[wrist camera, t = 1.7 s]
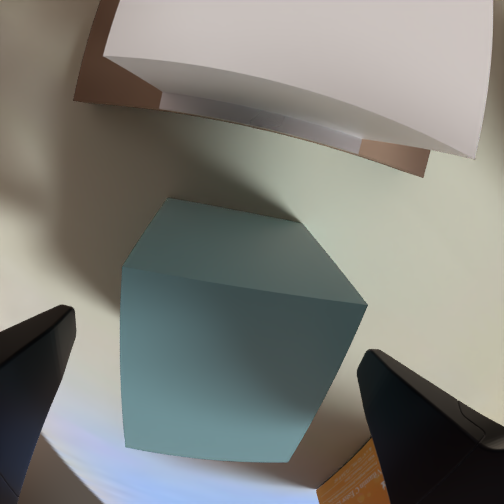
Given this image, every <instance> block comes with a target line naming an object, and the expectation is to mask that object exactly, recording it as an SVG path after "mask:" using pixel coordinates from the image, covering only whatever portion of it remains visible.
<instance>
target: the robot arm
mask: <svg viewBox="0 0 504 504" xmlns="http://www.w3.org/2000/svg"><path fill="white" fill-rule="evenodd" d="M75 337H76V320H75V310H74V308H73V307H71V306H67V305H59V306H56V307H54V308H52V309H50V310H47V311H45V312H43V313H41V314H38V315H36V316H34V317H32V318H30V319H27V320H25V321H23V322H21V323H19V324H16V325H14V326H12V327H10V328H8V329H6V330H3V331H1V332H0V504H17V503H18V497H19V495H20V492H21V488H22V485H23V482H24V478H25V475H26V472H27V469H28V466H29V463H30V460H31V457H32V454H33V451H34V448H35V446H36V443H37V440H38V438H39V435H40V432H41V430H42V427H43V424H44V422H45V419H46V417H47V414H48V412H49V409H50V407H51V404H52V402H53V400H54V397H55V395H56V392H57V390H58V388H59V385H60V383H61V380H62V378H63V375H64V372H65V368H66V365H67V362H68V359H69V356H70V353H71V350H72V347H73V344H74V341H75ZM357 378H358V383H359V388H360V393H361V398H362V403H363V408H364V412H365V416H366V420H367V423H368V426H369V429H370V433H371V436H372V439H373V443H374V446H375V450H376V453H377V457H378V460H379V464H380V467H381V471H382V474H383V478H384V481H385V485H386V489H387V493H388V496H389V500H390V504H504V426H502V425H500V424H498V423H496V422H494V421H493V420H491V419H489V418H487V417H485V416H483V415H482V414H480V413H478V412H476V411H475V410H473V409H472V408H470V407H468V406H467V405H465V404H463V403H462V402H460V401H457V399H456V398H454V397H452V396H451V395H449V394H448V393H446V392H445V391H443V390H442V389H440V388H438V387H437V386H435V385H434V384H432V383H431V382H429V381H427V380H426V379H424V378H423V377H421V376H420V375H418V374H417V373H415V372H414V371H412V370H410V369H409V368H407V367H406V366H404V365H403V364H401V363H400V362H398V361H397V360H395V359H393V358H392V357H390V356H389V355H387V354H386V353H384V352H383V351H381V350H379V349H369V350H367V351H366V353H365V355H364V357H363V359H362V361H361V363H360V365H359V367H358V369H357Z"/></svg>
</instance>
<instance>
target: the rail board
mask: <svg viewBox="0 0 504 504" xmlns="http://www.w3.org/2000/svg"><path fill="white" fill-rule="evenodd" d="M119 2H120V0H101V1H100V4H99V7H98V9H97V12H96V15H95V18H94V21H93V25H92V28H91V31H90V34H89V38H88V41H87V45H86V48H85V52H84V56H83V60H82V64H81V68H80V72H79V76H78V80H77V85H76V90H75V94H74V99H73V101H78V102H85V103H94V104H106V105H116V106H126V107H135V108H143V109H151V110H159V111H166V112H173V113H179V114H185V115H191V116H197V117H203V118H208V119H214V120H219V121H224V122H229V123H234V124H239V125H244V126H248V127H253V128H257V129H262V130H266V131H270V132H274V133H279V134H283V135H287V136H290V137H294V138H298V139H302V140H306V141H309V142H313V143H317V144H320V145H324V146H327V147H330V148H334V149H337V150H341V149H338V148H335V147H331V146H328V145H325V144H321V143H318V142H314V141H310V140H307V139H303V138H299V137H296V136H292V135H288V134H284V133H280V132H276V131H272V130H267V129H263V128H259V127H254V126H250V125H245V124H241V123H236V122H231V121H226V120H221V119H216V118H210V117H205V116H199V115H193V114H187V113H181V112H175V111H168V110H162V109H159V106H160V101H161V97H162V91H160V90H159V89H157V88H156V87H154V86H153V85H151V84H149V83H148V82H146V81H144V80H143V79H141V78H140V77H138V76H136V75H135V74H133V73H131V72H130V71H128V70H126V69H125V68H123V67H121V66H120V65H118V64H116V63H114V62H113V61H111V60H109V59H107V58H106V57H104V56H103V54H104V50H105V47H106V43H107V39H108V36H109V33H110V29H111V26H112V23H113V20H114V17H115V14H116V11H117V8H118V5H119ZM341 151H344V152H347V153H350V154H353V155H357V156H360V157H363V158H366V159H369V160H372V161H375V162H378V163H381V164H384V165H387V166H389V167H392V168H395V169H398V170H401V171H404V172H407V173H410V174H413V175H416V176H419V177H422V178H423V177H424V173H425V169H426V166H427V162H428V158H429V154H430V150H428V149H423V148H418V147H412V146H406V145H400V144H394V143H388V142H381V141H374V140H367V139H362V141H361V145H360V149H359V153H358V154H355V153H351V152H348V151H345V150H341Z"/></svg>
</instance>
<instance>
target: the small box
mask: <svg viewBox="0 0 504 504" xmlns="http://www.w3.org/2000/svg"><path fill="white" fill-rule="evenodd" d="M316 493H317V496H318V500H319V504H390V500H389V496H388V493H387V489H386V485H385V481H384V478H383V474H382V471H381V467H380V464H379V460H378V457H377V453H376V450H375V446H374V443H373V439H372V438H371V439H370V440H369V441H368V442H367V444H366V445H365V446H364V447H363V448H362V449H361V450H360V451H359V452H358V453H357V454H356V455H355V456H354V457H353V458H352V459H351V460H350V461H349V462H348V463H347V464H346V465H344V466H343V467H342V468H341V469H340V470H339V471H338V472H337V473H336V474H335V475H333V476H332V477H331V478H330V479H329V480H328V481H327V482H325V483H324V484H323V485H321V486H320V487H319V488H317V490H316Z"/></svg>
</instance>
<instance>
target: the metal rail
mask: <svg viewBox="0 0 504 504" xmlns="http://www.w3.org/2000/svg"><path fill="white" fill-rule="evenodd" d="M159 109H162V110H168V111H175V112H181V113H187V114H193V115H199V116H205V117H210V118H216V119H221V120H226V121H231V122H236V123H241V124H245V125H250V126H254V127H259V128H263V129H267V130H272V131H276V132H280V133H284V134H288V135H292V136H296V137H299V138H303V139H307V140H310V141H314V142H318V143H321V144H325V145H328V146H331V147H335V148H338V149H341V150H345V151H348V152H351V153H355V154H358V153H359V149H360V145H361V141H362V139H361V138H358V137H355V136H352V135H349V134H346V133H343V132H340V131H337V130H333V129H330V128H327V127H323V126H320V125H317V124H313V123H310V122H306V121H303V120H299V119H295V118H292V117H288V116H284V115H280V114H276V113H272V112H268V111H264V110H259V109H255V108H251V107H246V106H241V105H237V104H232V103H227V102H222V101H216V100H211V99H205V98H200V97H194V96H188V95H181V94H174V93H167V92H162V97H161V101H160V106H159Z"/></svg>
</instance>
